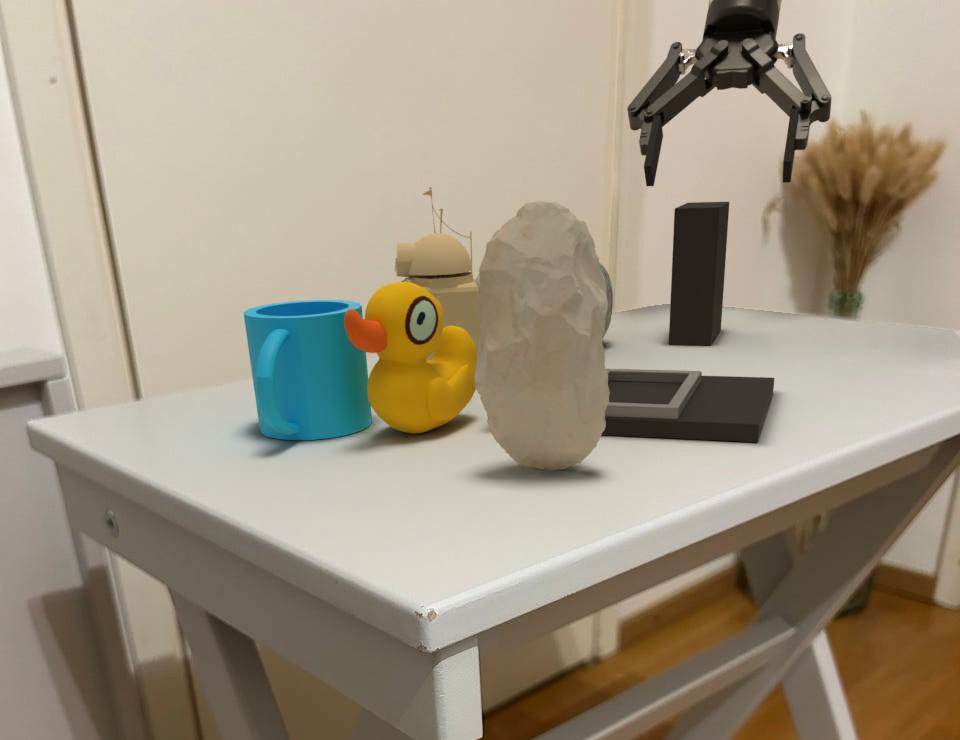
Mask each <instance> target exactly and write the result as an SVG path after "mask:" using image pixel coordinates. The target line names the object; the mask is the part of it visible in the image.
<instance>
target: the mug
mask: <svg viewBox="0 0 960 740" xmlns="http://www.w3.org/2000/svg"><path fill="white" fill-rule="evenodd" d="M349 309H355V310H356V311H357V312H358V313H359V315H360V316H361V318H363V319H364V316H363V305H362V304H361V303H360V302H356V301H353V300H342V299H309V300H295V301H284V302H276V303H275V302H274V303H268V304H263V305H257V306H254V307H250V308H248V309H246V310H244V311H243V312H242V313H243V319H244V326H245V334H246V340H247V347H248V355H249V362H250V368H251V376H252V383H253V390H254V396H255V404H256V405H255V406H256V411H257V419H258V425H259V426H258V427H259V432H260V434H262V435H263V436H265V437H268V438H272V439H276V440H286V441H315V440H325V439H326V440H327V439H333V438H338V437H345V436H348V435H352V434H355V433H358V432H361V431H364V430H365V429H367V428H369V427H370V425H371V424H372V423H373V415H372V407H371V405H370V402H369V399H368V393H367V385H368V379H369V371H368V360H367V352H365V351H362V350H360V349H358V348H356V347H355V346H354V345H353V344H352V343H351V342H350V340H349V338H348V335H347V333H346V329H345V326H344V318H345V314H346V312H347V311H348V310H349Z"/></svg>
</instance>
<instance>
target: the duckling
mask: <svg viewBox="0 0 960 740" xmlns="http://www.w3.org/2000/svg"><path fill="white" fill-rule="evenodd" d="M344 326H345V329H346V333H347V335H348V338H349V340H350V342H351V343H352V344H353V345H354V346H355V347H356V348H358V349H360V350H362V351H365V352H366V353H368V354H376V355H377V356H378V360H377V362H375V364H374V365H373V367H372V369H371V371H370V373H369V375H368V385H367V393H368V399H369V402H370V405H371V410H373V412H374V413H375V414H376V416H378V417H379V418H380V419H381V420H382V421H383V422H384V423H385V424H386V425H388V426H389V427H390V428H392V429H394V430H396V431H399V432H403V433H406V434H423V433H425V432H429V431H431V430H433V429H436V428H439V427H442V426H444V425H446V424H447V423H449V422H450V421H453V420H454V419H455V418H456V417H457V416H458V415H459V414H460V413H461V412H462V411H463V410H464V409H465V408H466V407H467V406H468V404H469V403H470V402H471V400H472V398H473V396H474V394H475V392H476V388H475V382H474V375H475V370H476V364H477V354H476V347H475V344H474V342H473V340H472V338H471V337H470V335H469V334H468V332H467V331H466V330H465V329H463V328H461V327H458V326H447V327H445V328H443V309H442V306H441V304H440V302H439V301H438V300H437V299H435V298H434V297H433V295H432V294H430V293H429V292H428V291H427V290H425V289H424V288H422V287H421V286H419V285H416V284H414V283H411V282H402V281H399V282H396V281H395V282H389V283H388V284H384V285H382V286H381V287H379V288H378V289H377V290H376V291H374V293H373V294H372V295H371V297H370V298H369V300H368V301H367V304H366V307H365V312H364V317H363V318H361V316H360V315H359V313H358V312H357V311H356V310H355V309H349V310H348V311H347V312H346V314H345V318H344ZM433 350H434V352H433ZM432 352H433V356H432V359H431V360H427V361H426V359H427V357H428V356H429V355H430V354H431V353H432Z"/></svg>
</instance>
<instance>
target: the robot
mask: <svg viewBox="0 0 960 740" xmlns="http://www.w3.org/2000/svg"><path fill="white" fill-rule="evenodd" d="M428 188H429V190H427V191H425V192H424V193H422V195H425V196H430V198H431V200H433V190H432V189H433V187H432V186H431V187H428ZM431 209H432V210H431V213H432V214H434V213H435V215H436V217H438V219H439V232H436V226H435V225H433V233H429V234H427V235H424V236H422V237H421V238H419V239H418V240H416V242H415V243H413V242H412V243H411V242H396V257H395V264H394V272H395V273H396V275H395V276H396V277H400V278H404V279H403V280H401V282H411V283H414V284H416V285H419V286H421V287H422V288H424V289H425V290H427V291H428V292H429V293H430V294H432V295H433V297H434V298H435V299H437V300H438V301H439V302H440V304H441V306H442V309H443V328H445V327H447V326H458V327H461V328H463V329H465V330H466V331H467V332H468V334H469V335H470V337H471V338H472V340H473V342H474V344H475V347H476V354H477V358H478V349H479V337H480V334H481V329H480V326H479V324H478V311H477V308H476V303H477V300H478V297H479V289H478V287H477V284H476V282H475V278H474V274H473V246H472V245H473V244H472V241H473V239H472V231H469V236H468V235H464V234H461V233H459V232H457V231H455V230H454V229H453V228H451V227H450V226H449V225H447V224H446V222H444V221H443V211H444V208H440V209H438V211H440V212H439V213H440V216H439V215H438V213H437V212H436V210H435V208H434V204H433V203H431ZM432 221H433V224H435V219H434V216H432ZM443 224H444V225H445V226H446V227H447V228H448V229H449V230H451V231H452V232H453V233H455V234H456V235H459V236H461V237H464V238H467V239H470V254H469V252H468V250H467V249H466V247H465V246H464V245H463V244H462V242H461V241H460V240H458V239H457V238H455V237H454V236H452V235H450V234H447V233H443V232H442V227H443V226H442V225H443ZM433 352H434V350H433ZM433 352H432V353H431V354H430V355H429V356H428V357H427V359H426V361H427V360H431V359H432V356H433Z"/></svg>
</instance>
